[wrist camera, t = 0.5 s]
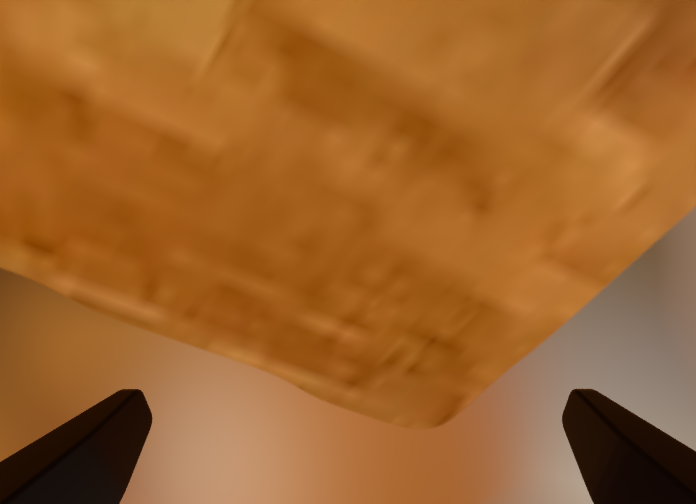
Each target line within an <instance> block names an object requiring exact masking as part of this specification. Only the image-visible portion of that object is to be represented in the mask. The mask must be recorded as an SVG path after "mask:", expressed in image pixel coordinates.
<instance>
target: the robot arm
mask: <svg viewBox="0 0 696 504" xmlns="http://www.w3.org/2000/svg"><path fill="white" fill-rule="evenodd" d="M562 422H563V427H564V430H565V433H566V436H567V438H568V440H569V443H570V446H571V449H572V451H573V453H574V456H575V459H576V461H577V464H578V466H579V469H580V472H581V474H582V477H583V479H584V482H585V485H586V487H587V489H588V492H589V494H590V496H591V499H592V501H593V503H594V504H696V451H694V450H693V449H691V448H689V447H688V446H686V445H684V444H683V443H681V442H679V441H678V440H676V439H674V438H673V437H671V436H670V435H668V434H666V433H665V432H663V431H661V430H660V429H658V428H656V427H655V426H653V425H652V424H650V423H648V422H647V421H645V420H643V419H642V418H640V417H638V416H637V415H635V414H634V413H632V412H630V411H628V410H627V409H625V408H624V407H622V406H620V405H619V404H617V403H616V402H614V401H612V400H611V399H609V398H607V397H606V396H604V395H602V394H601V393H599V392H597V391H595V390H593V389H574V390H572V391H571V393H570V395H569V398H568V401H567V404H566V406H565V409H564V412H563V416H562ZM151 424H152V414H151V411H150V408H149V406H148V404H147V401H146V399H145V397H144V394H143V392H142V391H141V390H138V389H123V390H120V391H118V392H116V393H115V394H113V395H111V396H110V397H108V398H106V399H104V400H103V401H101V402H99V403H98V404H96V405H94V406H93V407H91V408H89V409H88V410H86V411H84V412H83V413H81V414H80V415H78V416H76V417H74V418H73V419H71V420H69V421H68V422H66V423H64V424H63V425H61V426H59V427H58V428H56V429H54V430H53V431H51V432H49V433H48V434H46V435H44V436H43V437H41V438H39V439H38V440H36V441H35V442H33V443H31V444H29V445H28V446H26V447H24V448H23V449H21V450H19V451H18V452H16V453H14V454H13V455H11V456H9V457H8V458H6V459H4V460H3V461H1V462H0V504H119V503H120V501H121V499H122V497H123V495H124V493H125V491H126V488H127V486H128V483H129V481H130V479H131V476H132V473H133V471H134V469H135V466H136V464H137V461H138V458H139V456H140V453H141V451H142V448H143V446H144V443H145V441H146V438H147V436H148V433H149V431H150V428H151Z"/></svg>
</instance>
